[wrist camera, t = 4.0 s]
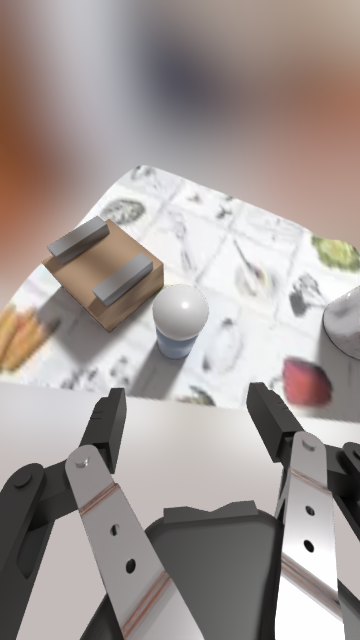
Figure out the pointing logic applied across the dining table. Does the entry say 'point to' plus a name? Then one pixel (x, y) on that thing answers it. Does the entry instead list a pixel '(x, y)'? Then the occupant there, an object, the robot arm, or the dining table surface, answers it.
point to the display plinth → (105, 270)
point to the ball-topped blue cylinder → (179, 319)
